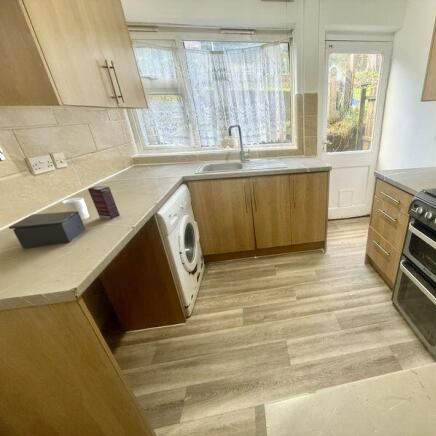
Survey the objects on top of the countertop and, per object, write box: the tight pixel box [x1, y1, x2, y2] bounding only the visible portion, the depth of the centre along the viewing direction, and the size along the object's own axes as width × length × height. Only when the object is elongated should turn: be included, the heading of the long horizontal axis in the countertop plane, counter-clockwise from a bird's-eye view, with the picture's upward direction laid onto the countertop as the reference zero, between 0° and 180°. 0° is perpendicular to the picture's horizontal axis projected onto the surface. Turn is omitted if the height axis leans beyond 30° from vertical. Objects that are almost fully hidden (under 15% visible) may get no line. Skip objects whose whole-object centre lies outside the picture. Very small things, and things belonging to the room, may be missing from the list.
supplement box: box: [87, 185, 121, 220], centre depth 119 cm, size 9×5×16 cm, turn 71°
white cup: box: [61, 196, 90, 221], centre depth 120 cm, size 8×8×10 cm
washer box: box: [12, 213, 86, 250], centre depth 100 cm, size 16×13×9 cm
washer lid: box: [8, 211, 79, 230], centre depth 98 cm, size 16×13×1 cm
